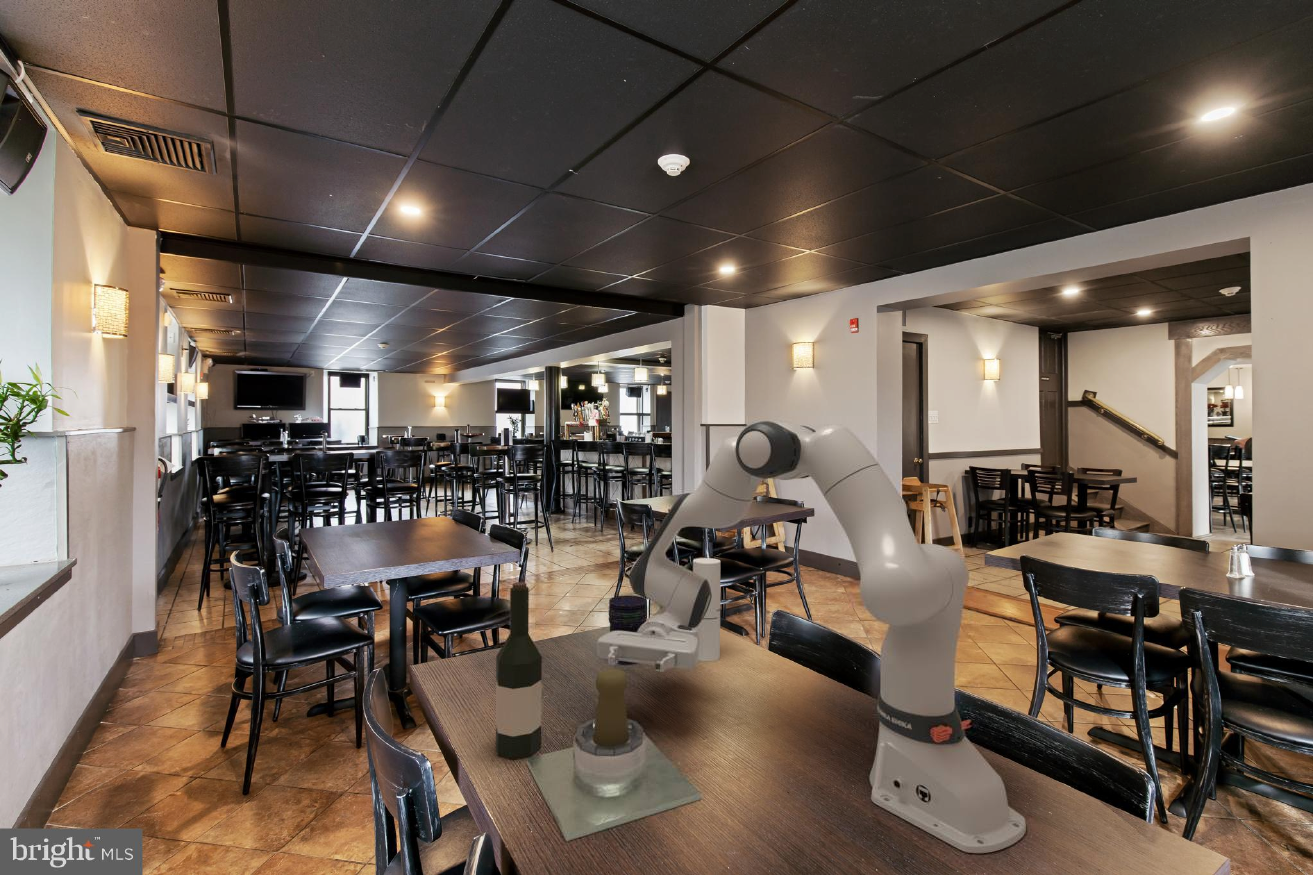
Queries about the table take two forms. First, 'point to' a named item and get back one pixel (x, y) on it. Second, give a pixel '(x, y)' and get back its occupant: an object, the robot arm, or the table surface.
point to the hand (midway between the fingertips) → (634, 663)
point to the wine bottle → (518, 684)
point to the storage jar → (627, 615)
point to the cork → (611, 709)
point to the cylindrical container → (709, 610)
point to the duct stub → (608, 782)
